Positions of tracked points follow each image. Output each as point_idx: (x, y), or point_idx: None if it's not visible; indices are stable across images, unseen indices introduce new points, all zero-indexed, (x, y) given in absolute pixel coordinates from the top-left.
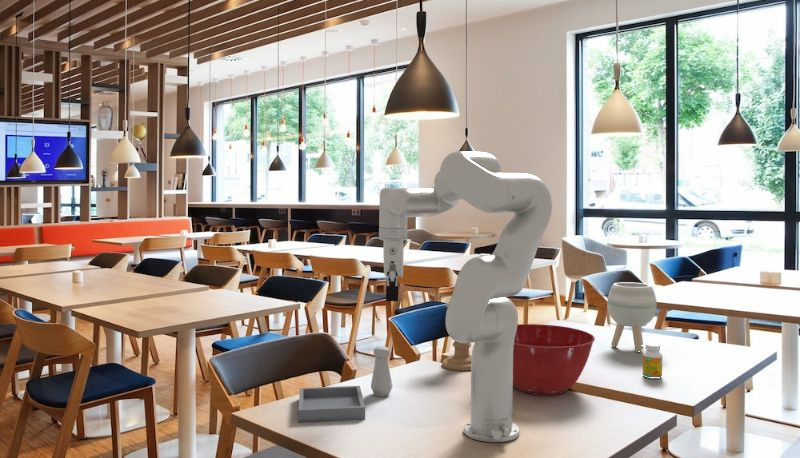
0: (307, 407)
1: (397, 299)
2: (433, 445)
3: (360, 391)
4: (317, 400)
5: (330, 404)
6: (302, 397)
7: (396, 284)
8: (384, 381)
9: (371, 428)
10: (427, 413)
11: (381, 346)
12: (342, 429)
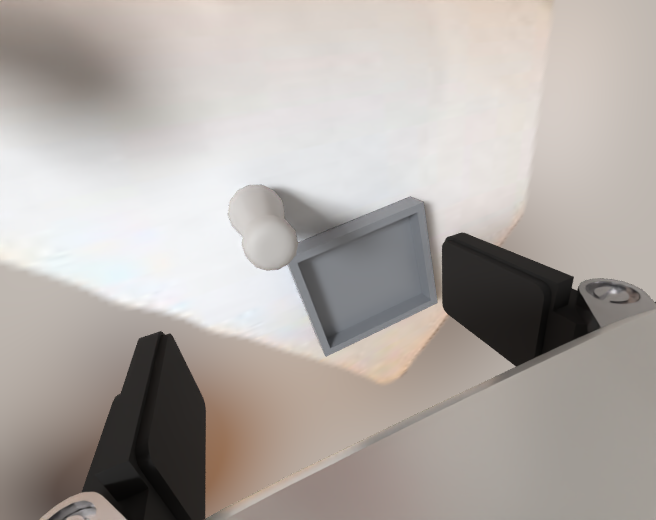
0: (376, 308)
1: (466, 238)
2: (527, 35)
3: (328, 243)
4: (339, 309)
5: (358, 280)
6: (377, 327)
7: (626, 293)
8: (280, 203)
9: (449, 172)
10: (368, 64)
11: (257, 253)
12: (452, 219)
